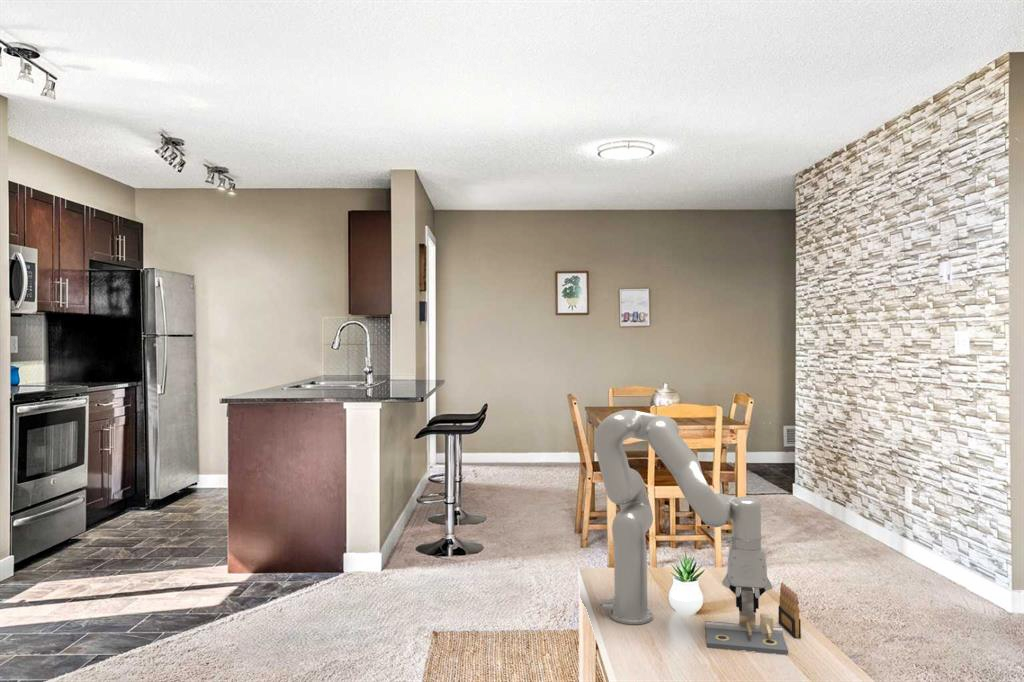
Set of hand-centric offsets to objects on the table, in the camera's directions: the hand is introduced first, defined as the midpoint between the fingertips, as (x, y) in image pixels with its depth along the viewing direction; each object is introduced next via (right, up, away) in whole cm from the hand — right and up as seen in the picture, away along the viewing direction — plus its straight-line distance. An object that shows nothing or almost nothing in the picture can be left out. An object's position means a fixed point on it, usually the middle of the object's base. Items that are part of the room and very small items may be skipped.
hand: (747, 609), depth 189 cm
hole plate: (-2, -7, -3) cm, 8 cm away
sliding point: (-1, -5, -3) cm, 6 cm away
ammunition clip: (+13, -7, +2) cm, 15 cm away
